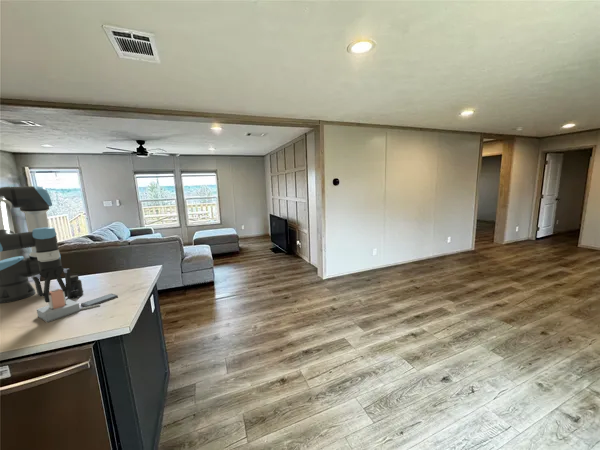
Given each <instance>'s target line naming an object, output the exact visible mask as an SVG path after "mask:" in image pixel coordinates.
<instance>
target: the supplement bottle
mask: <svg viewBox="0 0 600 450" xmlns="http://www.w3.org/2000/svg"><path fill="white" fill-rule="evenodd" d="M70 280H71V288H69V289H68V290H67V295H68V296H67V297H66V298H67V299H70V300H72V299H75V298H76V299H77V298H80V297H82V296H83V295H84V291H83V289H84V288H83V284H82V280H81V279H79V275H78V274H76V275H70ZM64 284H65V286H66V283H64Z"/></svg>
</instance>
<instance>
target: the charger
mask: <svg viewBox="0 0 600 450" xmlns="http://www.w3.org/2000/svg"><path fill="white" fill-rule="evenodd" d="M49 295H51V297H52V303H53V309H56V308H59V307H62V306H65V302H64V296H63V291H62V289H61V288H56V289H52V290H49Z"/></svg>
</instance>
